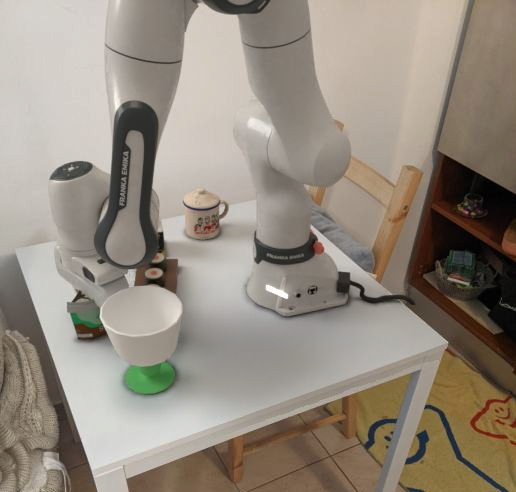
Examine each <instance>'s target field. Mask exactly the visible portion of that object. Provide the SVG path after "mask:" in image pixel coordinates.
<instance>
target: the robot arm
mask: <svg viewBox="0 0 516 492" xmlns="http://www.w3.org/2000/svg"><path fill="white" fill-rule="evenodd" d="M199 4H203V5H204V6H207V7H208V8H209V9H210V10H212V11H214V12H216V13H218V14H222V15H223V14H224V15H230V16H236V17H237V19H238V28H239V35H240V40H241V46H242V52H243V57H244V64H245V69H246V75H247V80H248V81H247V82H248V85H249V88H250V90H251V92H252V94H253V95H254V97H255V98H256V99H250V100H249V101H247V102H245V103H244V104H243V105H242V106H241V107H240V108H239V109H238V111H237V113H236V115H235V117H234V120H233V123H232V124H233V125H232V137H233V139H234V142H235V144H236V145H237V146H238V148H239V150H240V151H241V153H242V156H243V157H244V160H245V161H246V164H247V167H248V171H249V174H250V178H251V181H252V184H253V189H254V194H255V201H256V202H255V203H256V220H255V221H256V222H255V223H256V224H255V231H254V234H253V240H252V258H253V262H252V263H253V264H252V269H251V273H250V277H249V279H248V282H247V285H246V293H247V296H248V297H249V298H250V300H251V301H253V302H254V303H256V304H257V305H259V306H260V307H263V308H266V309H269V310H272V311H275V312H276V313H277V314H279V315H280V316H283V317H292V316H297V315H302V314H306V313H310V312H311V313H312V312H315V311H320V310H324V309H329V308H333V307H338V306H343V305H346V303H347V302H348V299H349V293H350V289H351V288H350V287H355V288H357V289H359V297H360V298H361V299H362V300H363V301H365V302H369V303H379V302H382V301H389V300H402V301H405V302H407V303H408V304H409V305H411V306H416V302H415V300H413V299H412V298H411V297H410V296H407V295H404V294H389V295H387V294H386V295H381V296H378V297H372V296H367V295H365V292H366V289H365V287H364V286H363V284H361V283H359V282H357V281H354V280H352V279H351V272H349V271H339V269H338V267H337V265H336V262H335V260H334V259H333V258H332V257H331V256H330V254H328V253H327V252H326V251H325V246H324V245H323V243H322V242H320V241H319V237H318V236H317V235H316V234H315V233H314V231H313V229H312V228H311V227H312V226H311V225H312V216H313V208H314V207H313V206H314V205H313V200H312V197H311V195H310V192H309V190H308V189H307V187H306V186H311V187H315V188H320V189H328V188H331V187H333V186H334V185H336V184H337V183H338V182H339V181H340V180H341V179H342V178H343V177H344V176H345V175H346V173H347V171H348V169H349V167H350V164H351V160H352V147H351V142H350V140H349V138H348V137H347V136H346V134H345V133H344V132H343V131H342V130H341V129H340V127H339V126H338V124H337V123H336V121H335V119H334V117H333V116H332V114H331V112H330V109H329V108H328V105H327V103H326V100H325V97H324V95H323V92H322V90H321V88H320V84H319V80H318V78H317V71H316V64H315V55H314V47H313V46H314V45H313V35H312V24H311V23H312V22H311V15H310V14H311V13H310V7H309V0H108V5H107V11H106V20H105V29H104V44H103V45H104V46H103V47H104V50H103V51H104V52H103V59H104V60H103V61H104V64H103V65H104V79H105V88H106V89H105V90H106V97H107V105H108V113H109V125H110V133H111V134H110V135H111V164H110V173H108V172H106V171H104V170H102V169H100V168H99V167H98V166H96V164H94V163H93V162H90V161H85V160H75V161H74V160H73V161H70V162H67V163H64V164H62V165H60V166H58V167H57V168H56V169H55V170H53V172H52V173H51V175H50V176H49V179H48V183H47V184H48V185H47V188H48V189H47V190H48V198H49V199H48V201H49V206H50V213H51V217H52V221H53V223H54V225H55V226H56V229H57V230H56V231H57V234H56V236H55V242H56V245H55V246H54V247H53V254H54V256H53V257H54V262H55V268H56V271H57V273H58V275H59V276H60V277H61V278H62V279H63V280H65V281H66V282H67V283H68V284H70V285H71V286H72V289H73V291H74V293H75V295H77V293H78V292H79V290H80V291H81V292H82V293H83V294H85V295H86V296H87V297H88V298H89V299H91V300H92V299H94V302H95V304H96V305H97V306H98V307H100V308H101V306H102V305H103V304H104V303H105V301H106V300H107V299H108V297H110V296H112V295H113V294H115V293H117V292H118V291H120V290H123V289H127V288H130V286H129V281H128V279H127V277H126V276H125V275H127V274H128V273H129V270H137V268H141V267H144V266H146V265H148V264H149V263H150V262H152V261H153V259H154V258H155V257H156V255H157V252H158V222H159V216H160V199H159V196H158V193H156V191H155V190H154V188H153V186H154V185H153V184H154V177H155V166H156V160H157V155H158V150H159V147H160V143H161V140H162V136H163V133H164V130H165V127H166V125H167V121H168V119H169V116H170V113H171V111H172V108H173V107H172V106H173V104H174V101H175V98H176V94H177V91H178V87H179V82H180V77H181V73H182V66H183V59H184V52H185V51H184V50H185V49H184V48H185V37H186V32H187V29H188V26H189V23H190V21H191V19H192V17H193V15H194V13H195V11H196V10H197V9H198V8H199ZM305 185H306V186H305Z"/></svg>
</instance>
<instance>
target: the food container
mask: <svg viewBox="0 0 516 492" xmlns="http://www.w3.org/2000/svg"><path fill="white" fill-rule="evenodd" d="M100 310H101V308H100V307H98V306H97V305H96V304H95V302H94V299H92V300H91V299H89V298H88V297H87V296H86V295H85V294H83V293H82V292H81V291H80V290H79V292H78V293H77V294H75V297H74V298H73V299H72V300H71V301H66V312H67V313H68V314H69V315H70V318H71V321H72V325H73V328H74V331H75V334H76V337H77V340H80V341H92V340H95V339H100V338H102V337H104V336H106V335H108V334H107V332H106V330H105V328H104V326H103V323H102V321H101V319H100Z"/></svg>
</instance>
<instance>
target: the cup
mask: <svg viewBox="0 0 516 492" xmlns="http://www.w3.org/2000/svg"><path fill="white" fill-rule="evenodd" d="M183 306H184V305H183V302H182V300H181V299H180V298H179V297H178V295H177V293H176V294H174V293H172V292H170V291H168V290H167V289H165V288H160V287H155V286H134V285H133V286H131V287H130V286H129V288H127V289H123V290H120V291H118V292H117V293H115V294H113V295H112V296H110V297H108V299H107V300H106V301H105V303H104V304H103V305H102V306H101V310H100V319H101V321H102V323H103V326H104V328H105V330H106V332H107V334H106V335H107V336H108V339H109V341H110V343H111V345H112V347H113V348H114V351H115V352H116V354H117V355H118V357H119V358H120V359H121V360H123V361H124V362H126V363H127V364H129V365H132V366H130V367H129V368H128V370H127V372H126V374H125V383H126V385H127V386H128V388H129V389H130V390H131V391H133V392H135V393H137V394H141V395H155V394H158V393H160V392H163V391H165V390H167V389H168V388H170V387H171V386H172V384H173V383H174V381H175V379H176V372H175V369H174V367H173V366H172V365H171V364H170V363H169V362H167V361H166V360H167V359H168V358H170V357H171V356H172V355H173V353H174V351H175V350H176V348H177V346H178V342H179V335H180V332H181V331H180V330H181V326H182V320H183V314H184V308H183Z"/></svg>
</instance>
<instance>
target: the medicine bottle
mask: <svg viewBox="0 0 516 492" xmlns="http://www.w3.org/2000/svg"><path fill="white" fill-rule="evenodd" d="M164 234H165V233H164V228H163V223H162V218H161V216H160V215H159V222H158V252H157V253H161V254H164V255H165V256H166V246H165V235H164Z"/></svg>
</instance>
